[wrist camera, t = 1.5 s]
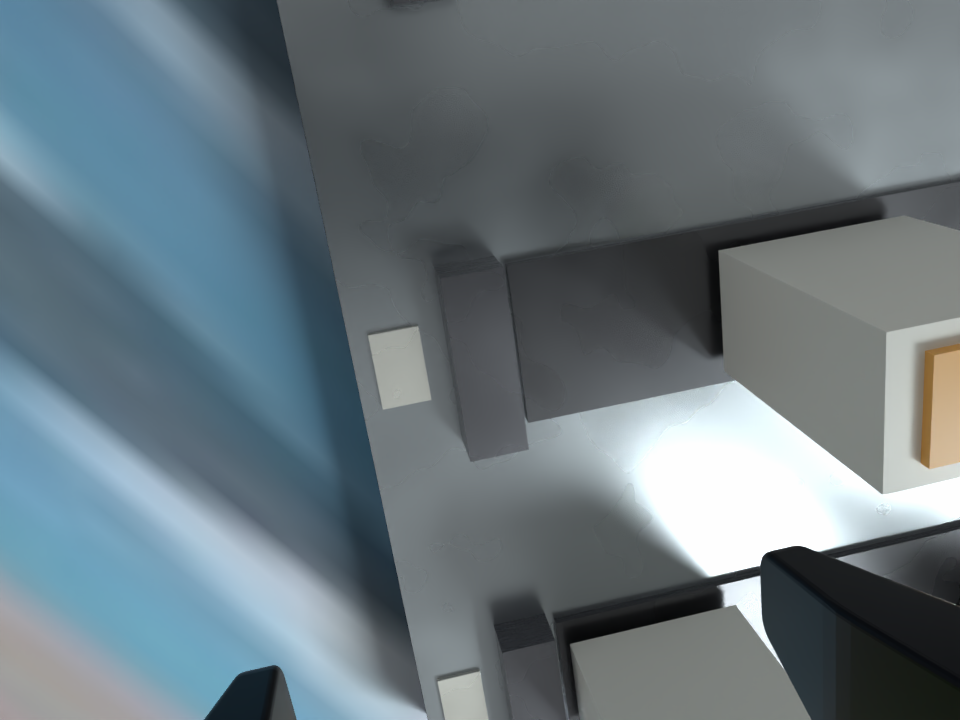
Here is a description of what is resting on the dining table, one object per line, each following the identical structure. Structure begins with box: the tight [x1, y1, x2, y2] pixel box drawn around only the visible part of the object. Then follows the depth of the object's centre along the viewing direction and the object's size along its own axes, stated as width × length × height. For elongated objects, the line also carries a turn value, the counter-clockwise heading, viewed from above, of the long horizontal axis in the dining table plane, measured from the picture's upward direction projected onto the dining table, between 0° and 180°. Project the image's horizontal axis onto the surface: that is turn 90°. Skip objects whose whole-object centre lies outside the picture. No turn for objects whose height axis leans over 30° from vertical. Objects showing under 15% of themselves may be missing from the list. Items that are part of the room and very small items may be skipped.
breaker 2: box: [718, 216, 960, 495], centre depth 15 cm, size 3×4×6 cm, turn 98°
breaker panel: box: [277, 0, 960, 720], centre depth 19 cm, size 21×19×3 cm
